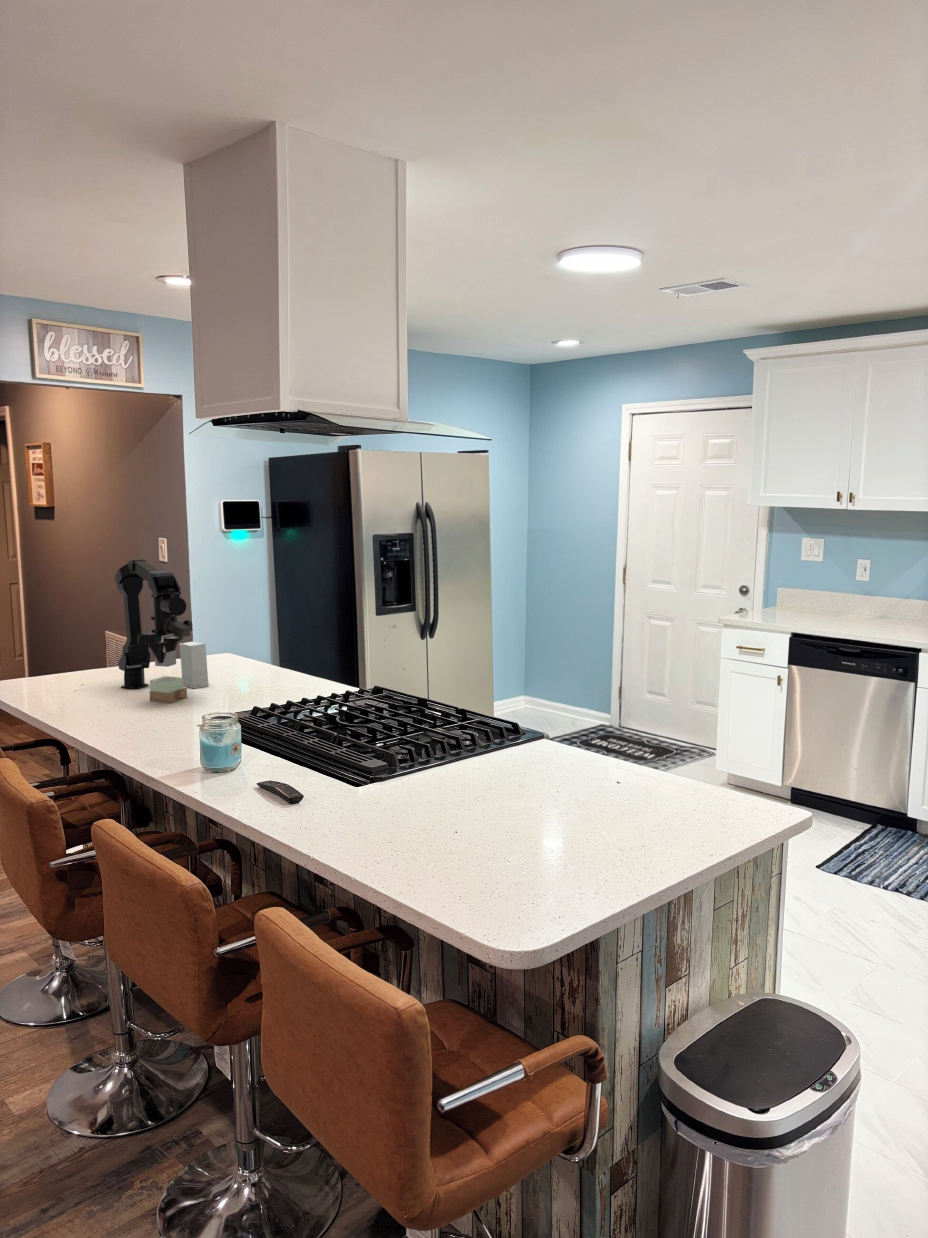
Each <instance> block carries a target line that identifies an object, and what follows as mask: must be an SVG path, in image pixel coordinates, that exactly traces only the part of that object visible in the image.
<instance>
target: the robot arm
mask: <svg viewBox="0 0 928 1238" xmlns="http://www.w3.org/2000/svg"><path fill="white" fill-rule="evenodd" d="M114 581H115V583H116V587H117V590H118V592H119V593H120V594H121V595H122V596H123V607H124V618H125V619H124V620H125V631H126V641H125V643H124V644H123V646H122V654H121V656H120V659H119V660H118V663H117V664H118V669H119V670H121V671H122V672H123V683H124V684H122V685H121V687H120V688H122V689H123V688H124V689H134V690H138V689H140V688H144V687H147V686H150V683H146V681H145V669H149V668H150V663H151V653H150V650H151V651H152V654H153V655H154V658H155V657H156V659H157V660H158V662H159V663H163V650H176V648H177V646H178V644H180V643H181V641H182V640H184V637H189V636H191V632H192V631H193V629H194V628H193V622H192V620H191V619H187V620H184V621H179V620H178V617H180V616H182V615H183V614H184V613H185V612H186V610H187V603H186V601H185V599H183V598H182V597H181V593H182V591H181V587H180V585H179V583H178V581H177V578H176V576H175V575H174V574H173V572H171V571H167V570H166V571H165V570H159V569H158V568H156V567H154V566H153V565H151V564H150V563H148V562H147V560H146V559H143V558H140V559H139V558H138V559H136V558H135V559H131V560H128V562H127V563H126V564H124V565H123V566H121V567H120V568H118V570H117V572H116V573H115V575H114ZM144 581H146V582H147V586H148V588H149V589H150V590H151V592H152V594H151V596H150V597H151V598H152V599H153V601H152V602H153V616H151V617H150V619H151V621H154V622H153V623H154V628H153V629H151V632H150V631H149V632H142V621H141V619H142V618H141V607H140V597H139V596H140V594H141V591H142V590H143V588H144ZM149 649H150V650H149Z"/></svg>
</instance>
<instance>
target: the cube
mask: <svg viewBox="0 0 928 1238" xmlns="http://www.w3.org/2000/svg"><path fill="white" fill-rule="evenodd" d="M175 665H177V651H176V649H175V650H166V649H163V663H159V662H158V660H157V659H156V657H155V656H154V666H155V667H166V668H167V667H171V666H175Z"/></svg>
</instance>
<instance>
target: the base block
mask: <svg viewBox="0 0 928 1238" xmlns="http://www.w3.org/2000/svg"><path fill="white" fill-rule="evenodd" d="M187 698H188V689H187V687H183V689H180V690H177V691H174V692H171V693H163V692H154V691H149V702H153V703H154V702H155V703H163V704H164V703H165V704H173V703H176V702H179V701H182V700H185V699H187Z"/></svg>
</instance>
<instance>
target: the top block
mask: <svg viewBox="0 0 928 1238" xmlns="http://www.w3.org/2000/svg"><path fill="white" fill-rule="evenodd" d="M149 686H150V687H149V688H150V691H154V692H163V693H171V692H174V691H177V690H180V689H183V688H184V686H183V678H182V677H177V676H168V675H164V676H160V677H157V678H152V679H150V680H149ZM150 691H149V692H150Z"/></svg>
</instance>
